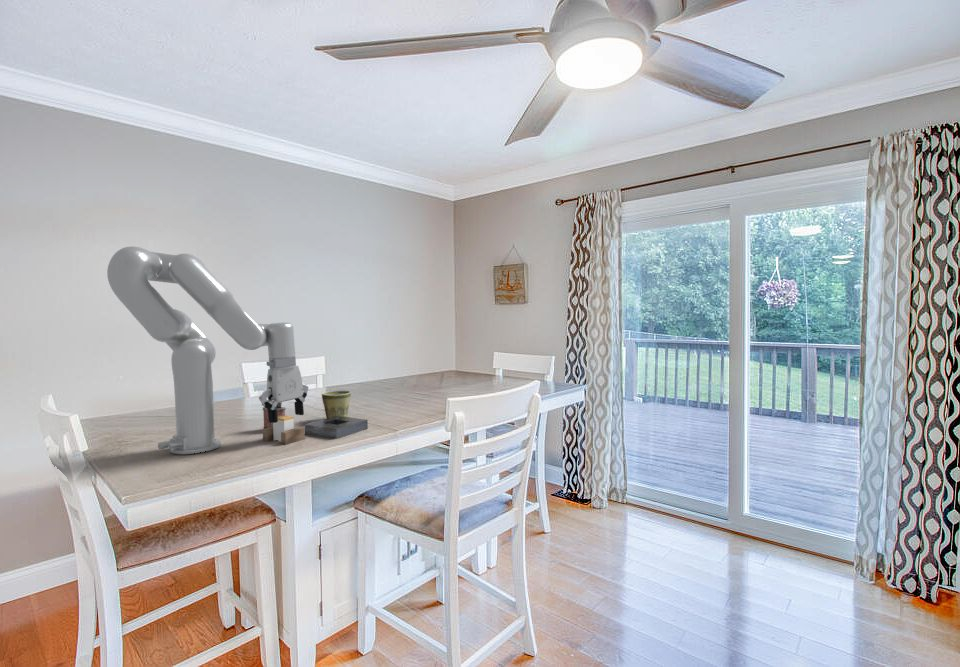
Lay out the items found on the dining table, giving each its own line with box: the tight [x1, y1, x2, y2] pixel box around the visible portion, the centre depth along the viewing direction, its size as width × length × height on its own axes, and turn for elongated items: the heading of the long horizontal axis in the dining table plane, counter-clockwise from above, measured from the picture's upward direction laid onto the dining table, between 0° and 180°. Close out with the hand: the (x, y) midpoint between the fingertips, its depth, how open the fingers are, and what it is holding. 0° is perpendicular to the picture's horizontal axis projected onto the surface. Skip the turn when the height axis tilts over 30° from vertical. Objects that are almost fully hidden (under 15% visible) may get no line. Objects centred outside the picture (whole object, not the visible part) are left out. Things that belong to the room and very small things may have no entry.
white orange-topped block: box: [273, 415, 295, 442], centre depth 148 cm, size 4×5×7 cm
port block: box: [303, 416, 369, 440], centre depth 157 cm, size 14×14×3 cm
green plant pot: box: [321, 389, 352, 419], centre depth 174 cm, size 13×10×10 cm
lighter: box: [262, 399, 286, 430], centre depth 160 cm, size 8×3×10 cm, turn 74°
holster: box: [262, 426, 305, 445], centre depth 148 cm, size 7×10×4 cm
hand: (286, 418), depth 148 cm, fingers open, 9 cm apart
